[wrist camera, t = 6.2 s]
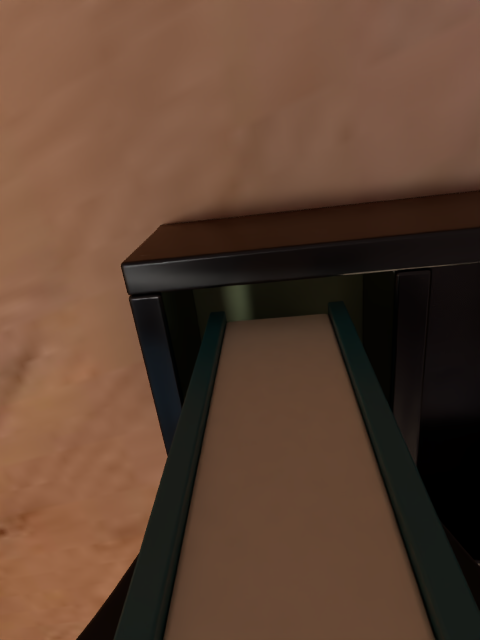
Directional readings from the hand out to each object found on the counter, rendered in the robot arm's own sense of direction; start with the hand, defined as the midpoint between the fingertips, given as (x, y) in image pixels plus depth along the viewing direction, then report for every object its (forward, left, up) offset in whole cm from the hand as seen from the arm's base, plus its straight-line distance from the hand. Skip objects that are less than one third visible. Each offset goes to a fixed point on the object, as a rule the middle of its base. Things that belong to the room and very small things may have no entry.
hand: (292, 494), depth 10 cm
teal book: (0, 0, -3) cm, 3 cm away
